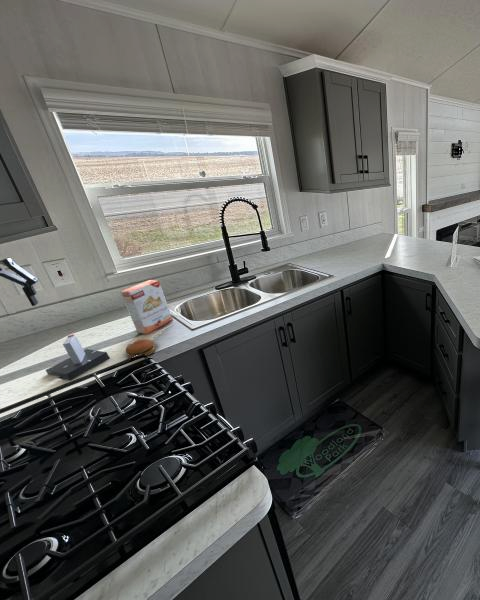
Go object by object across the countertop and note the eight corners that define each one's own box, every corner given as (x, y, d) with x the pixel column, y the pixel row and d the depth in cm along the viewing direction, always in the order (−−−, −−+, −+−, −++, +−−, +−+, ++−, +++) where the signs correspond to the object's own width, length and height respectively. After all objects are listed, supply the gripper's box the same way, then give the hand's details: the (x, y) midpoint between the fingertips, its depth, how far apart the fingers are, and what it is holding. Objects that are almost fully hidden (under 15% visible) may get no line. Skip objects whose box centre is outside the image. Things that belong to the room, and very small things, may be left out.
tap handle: (81, 362, 123) (69, 342, 119) (74, 364, 122) (62, 343, 118) (85, 353, 129) (74, 333, 125) (79, 355, 128) (68, 335, 124)
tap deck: (70, 380, 118) (66, 373, 117) (49, 376, 121) (44, 369, 120) (110, 358, 130) (107, 351, 129) (89, 355, 133) (86, 348, 132)
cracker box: (147, 334, 146) (129, 292, 137) (137, 333, 148) (118, 291, 139) (174, 319, 159) (159, 280, 150) (164, 318, 160) (148, 279, 151)
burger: (158, 352, 133) (154, 342, 131) (130, 362, 127) (125, 352, 125) (154, 343, 140) (150, 334, 138) (127, 352, 134) (122, 343, 132)
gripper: (29, 237, 106) (61, 296, 116) (-87, 251, 96) (-42, 315, 105) (20, 242, 101) (53, 304, 110) (-105, 257, 90) (-56, 324, 99)
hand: (7, 309), depth 107 cm, fingers open, 13 cm apart
